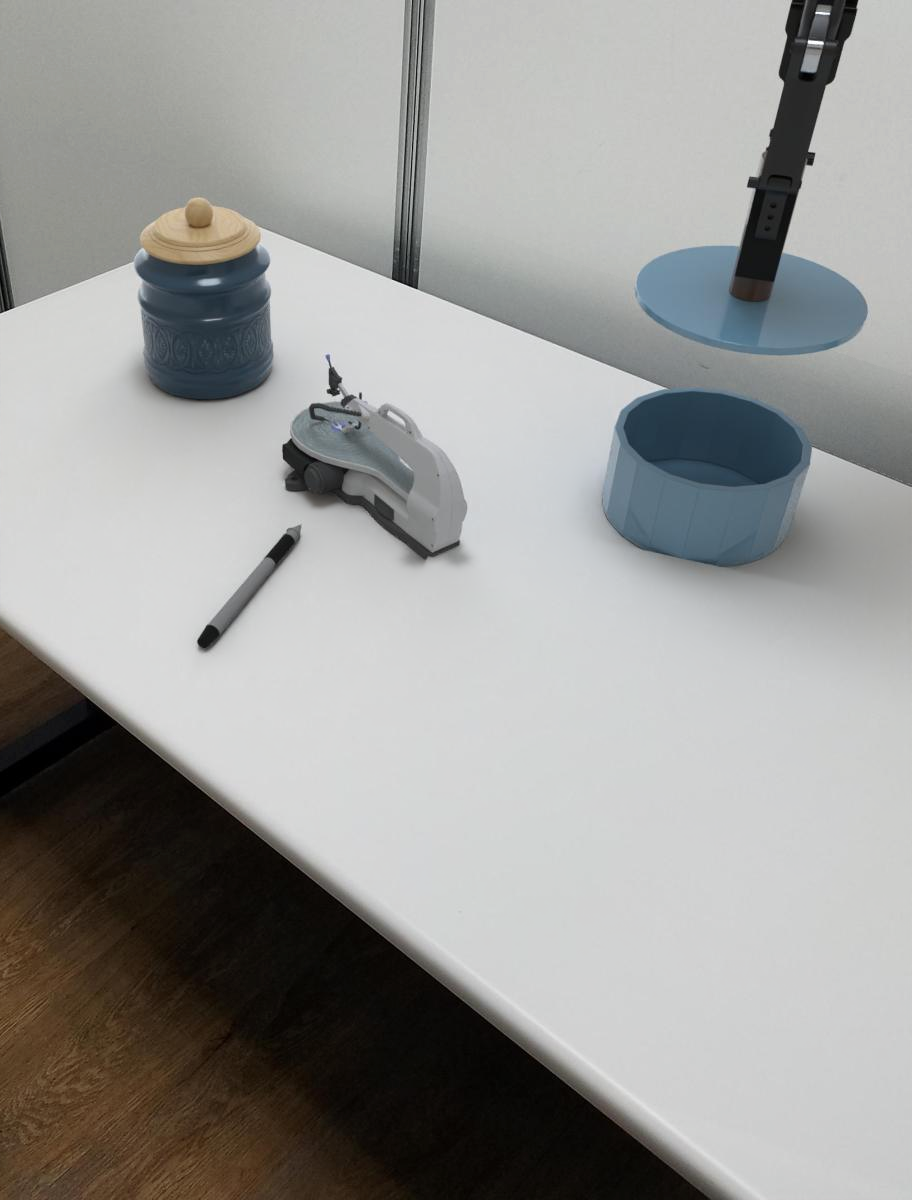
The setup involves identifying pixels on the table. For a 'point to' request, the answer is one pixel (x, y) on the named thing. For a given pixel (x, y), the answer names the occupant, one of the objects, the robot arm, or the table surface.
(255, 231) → the canister
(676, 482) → the bowl
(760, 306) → the bowl lid
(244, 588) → the pen
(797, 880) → the table surface
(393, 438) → the scroll saw
